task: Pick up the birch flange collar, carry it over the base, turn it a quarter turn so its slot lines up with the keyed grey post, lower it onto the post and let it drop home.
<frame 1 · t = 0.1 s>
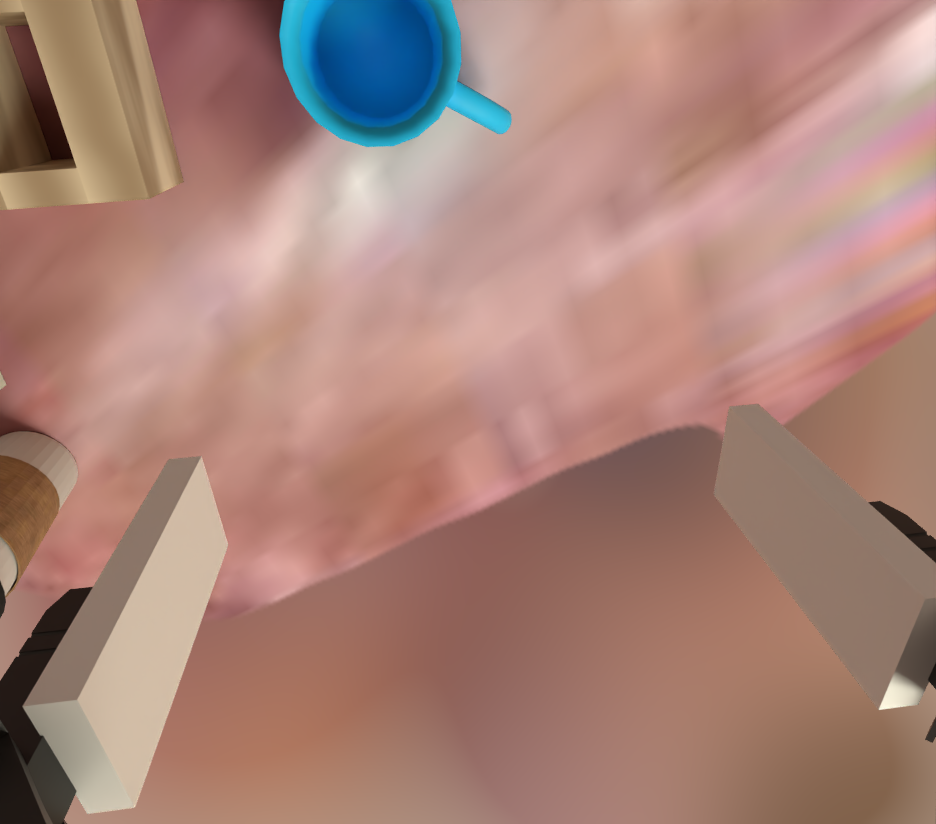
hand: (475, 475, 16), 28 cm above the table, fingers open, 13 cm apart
mug: (407, 72, 36), on the table
collar: (66, 93, 34), on the table
coffee cup: (35, 464, 45), on the table
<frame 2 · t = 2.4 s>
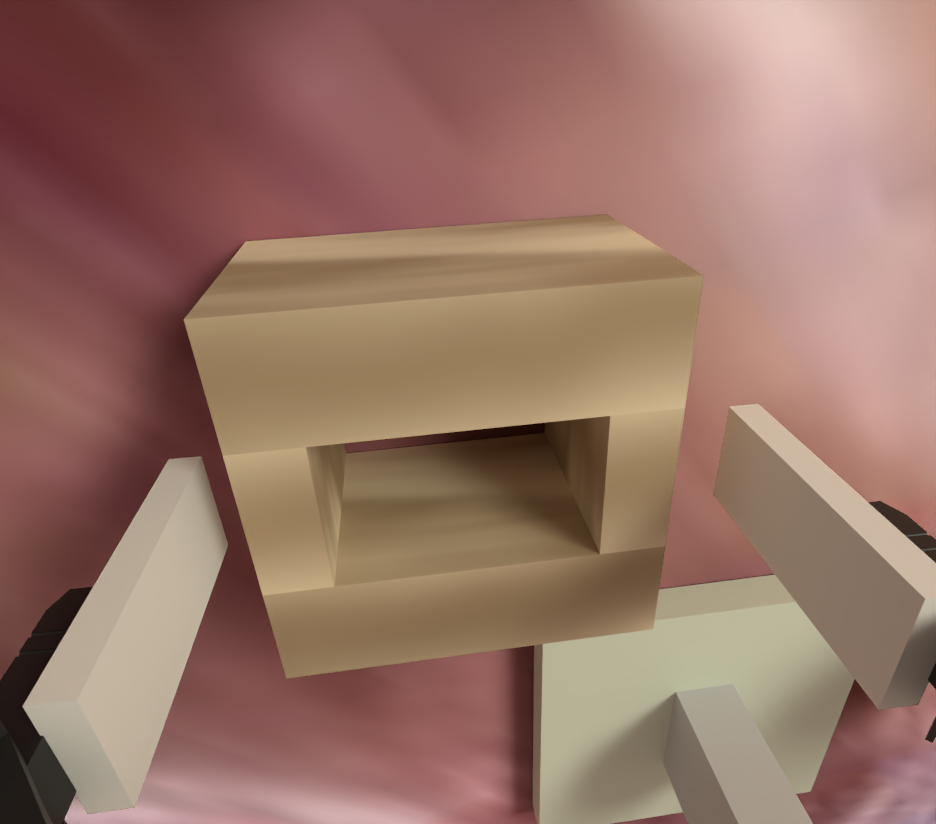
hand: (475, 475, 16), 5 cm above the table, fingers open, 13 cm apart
base: (681, 695, 29), on the table
collar: (442, 389, 19), on the table
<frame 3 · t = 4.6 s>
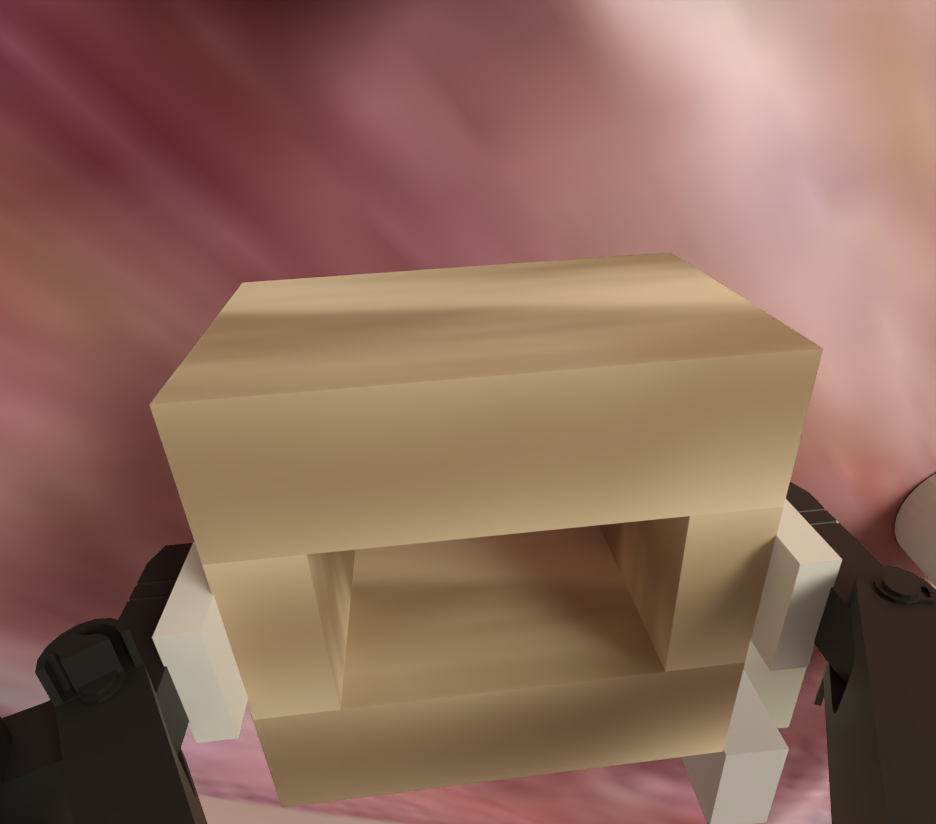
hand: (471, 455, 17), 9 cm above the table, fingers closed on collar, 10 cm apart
base: (670, 629, 33), on the table
collar: (470, 449, 17), point 8 cm above the table, touching gripper
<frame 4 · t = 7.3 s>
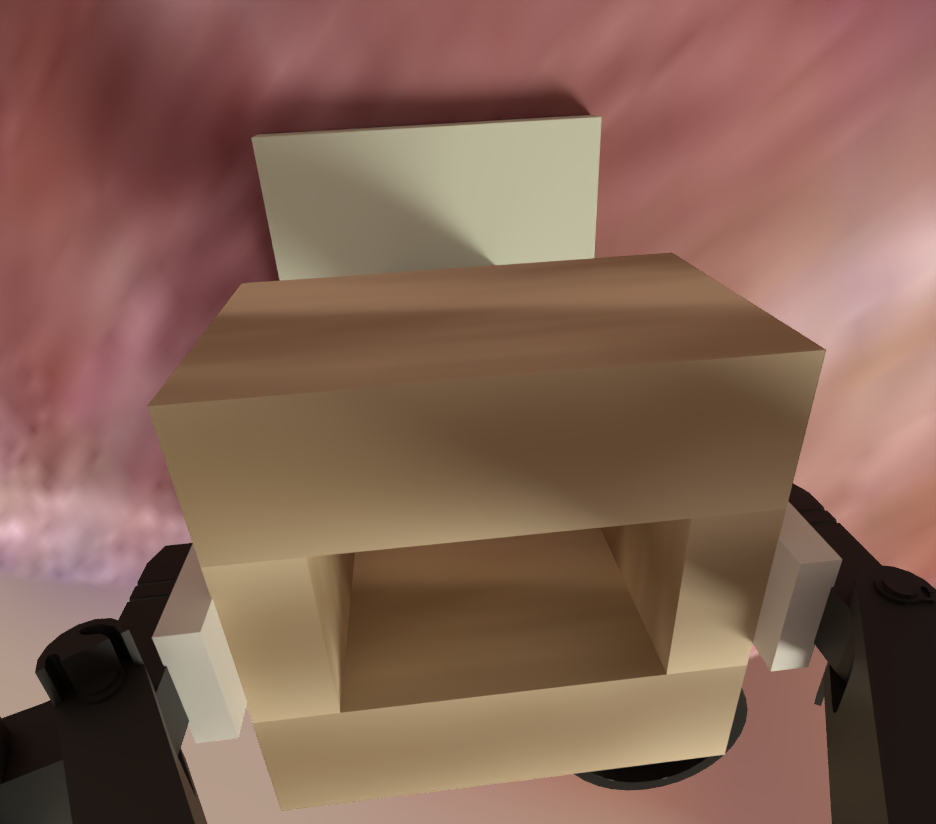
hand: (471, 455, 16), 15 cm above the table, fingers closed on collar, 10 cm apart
base: (439, 286, 29), on the table
collar: (471, 450, 17), point 15 cm above the table, touching gripper
coffee cup: (562, 499, 36), on the table
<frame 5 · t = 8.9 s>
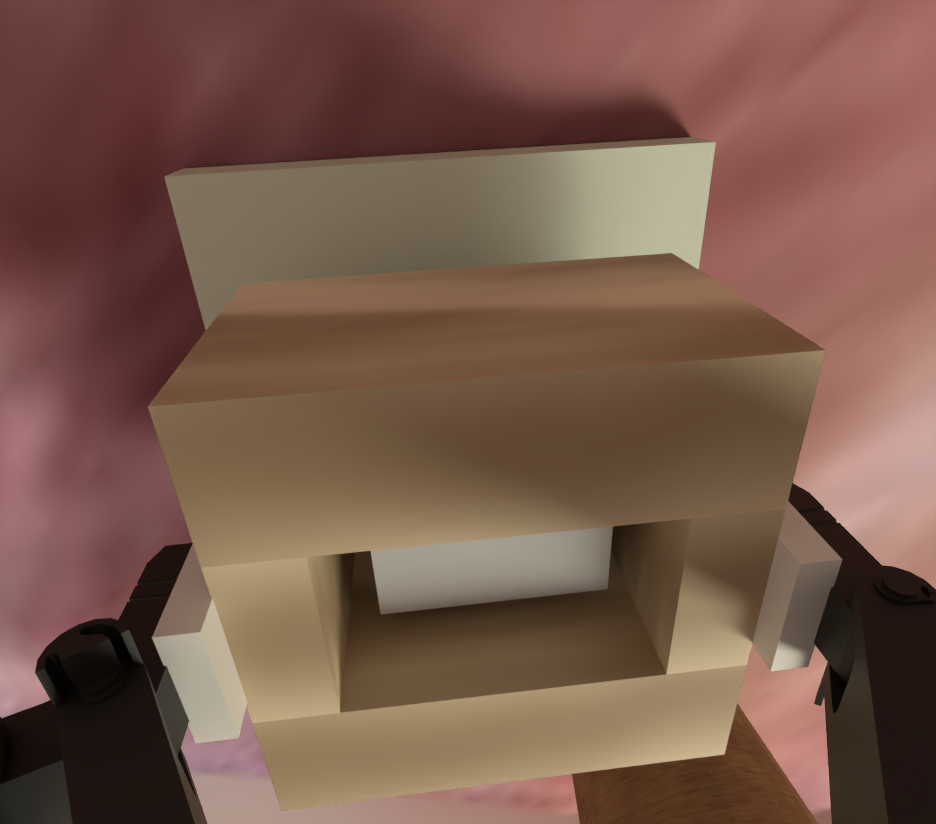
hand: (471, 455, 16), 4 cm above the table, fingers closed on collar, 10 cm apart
base: (458, 381, 20), on the table
collar: (471, 451, 17), point 4 cm above the table, touching gripper
coffee cup: (616, 640, 27), on the table
when the fingers open (3 cm above the table, at t = 10.4 s): collar drops 1 cm, resting on base.
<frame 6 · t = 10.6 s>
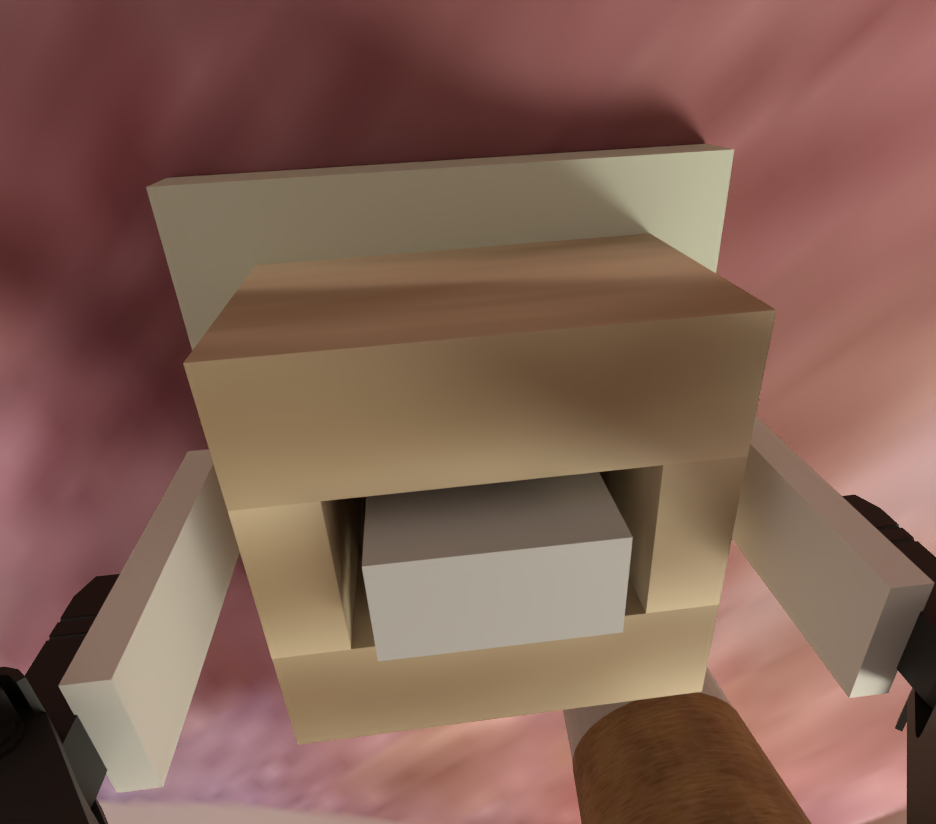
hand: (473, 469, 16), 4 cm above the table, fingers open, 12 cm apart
base: (459, 400, 19), on the table
collar: (467, 421, 18), point 1 cm above the table, touching base
coffee cup: (624, 664, 26), on the table
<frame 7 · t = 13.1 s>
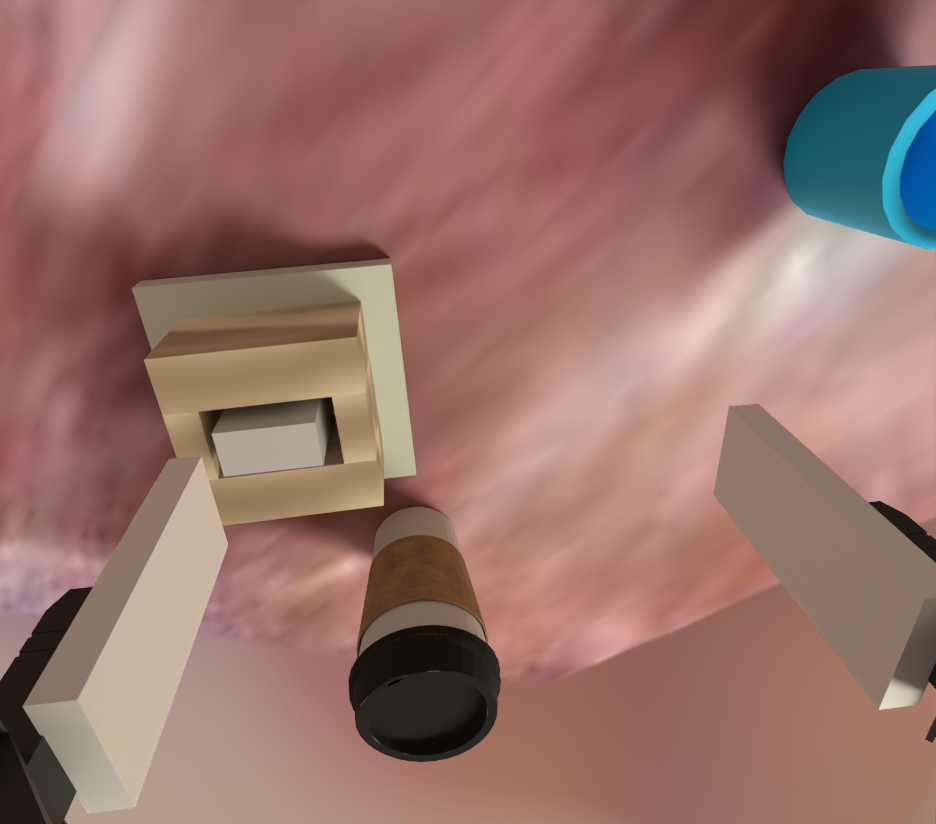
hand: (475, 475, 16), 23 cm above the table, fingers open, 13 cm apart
mug: (871, 162, 37), on the table
base: (291, 380, 38), on the table
collar: (289, 389, 37), point 1 cm above the table, touching base
coffee cup: (415, 537, 45), on the table
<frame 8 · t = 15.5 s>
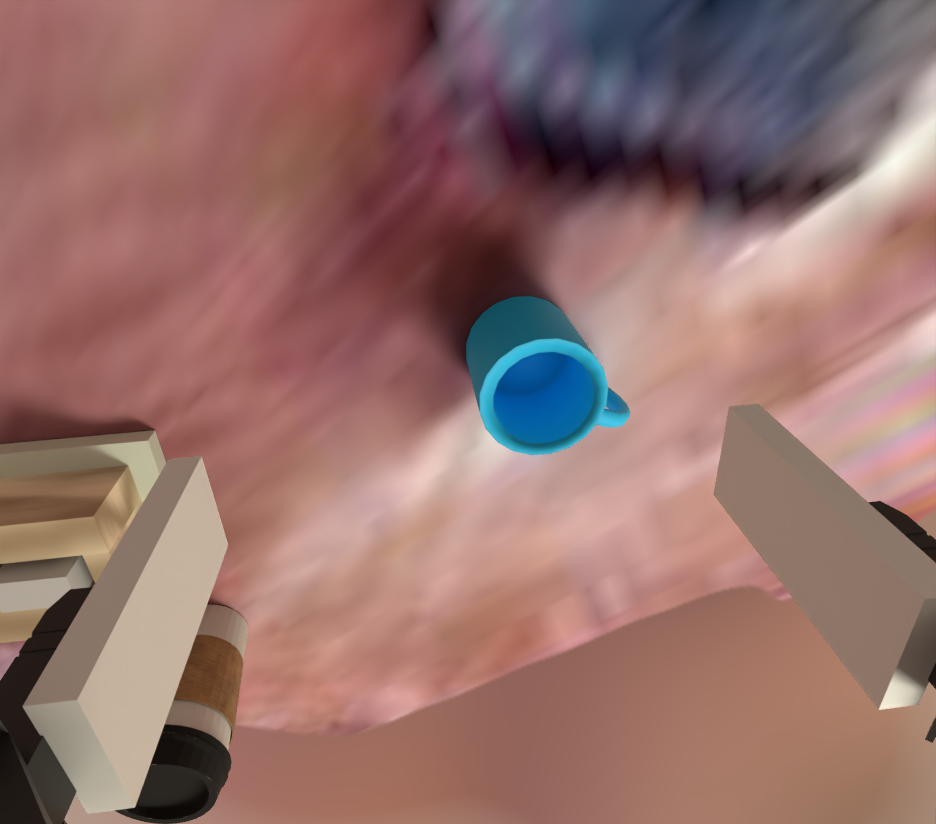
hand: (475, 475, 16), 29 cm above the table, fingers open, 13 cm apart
mug: (542, 357, 46), on the table
base: (89, 515, 48), on the table
collar: (81, 526, 47), point 1 cm above the table, touching base
coffee cup: (214, 626, 56), on the table
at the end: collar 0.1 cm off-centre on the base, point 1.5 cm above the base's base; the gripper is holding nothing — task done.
